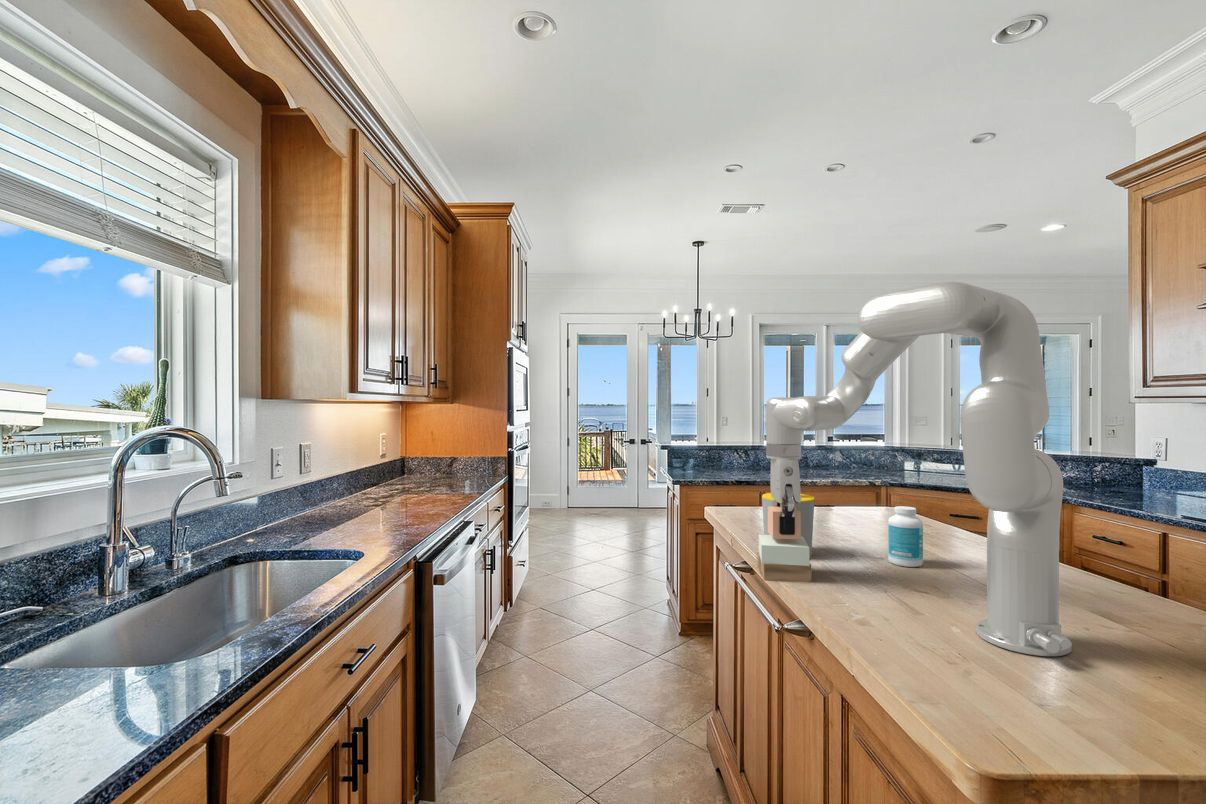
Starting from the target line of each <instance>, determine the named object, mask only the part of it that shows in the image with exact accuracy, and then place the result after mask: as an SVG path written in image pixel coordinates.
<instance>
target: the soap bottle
mask: <svg viewBox="0 0 1206 804" xmlns="http://www.w3.org/2000/svg"><path fill="white" fill-rule="evenodd" d="M783 502H784V501H783ZM761 503H762V506H761V507H762V520H763V522H762V523H763V535H770V534H769V533H768V506H770V507H774V498H772V496H771V492H767V493H762V495H761ZM794 507H795V508H796V509H798V510H799V511H800V512H801V536H802V537H804V539H805V541H806V543H807V544H808V546H809V558H811V557H812V555H813V554H812V550H813V534H814V519H815V518H814V517H815V496H813V495H810V494H806V493H805V494H804V493H801V502H800V503H799V504H797V503H795V502H794Z"/></svg>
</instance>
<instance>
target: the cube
mask: <svg viewBox="0 0 1206 804" xmlns="http://www.w3.org/2000/svg"><path fill="white" fill-rule="evenodd" d="M784 509H785V508H784ZM794 512H795V534H794V535H781V534H780V521H779V516H781V509H780V507H770V506H768V533H769V534H770V535H771V537H772V538H776V539H801V512H800V511H799V510H798V509H796V508H795V507H794Z"/></svg>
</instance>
